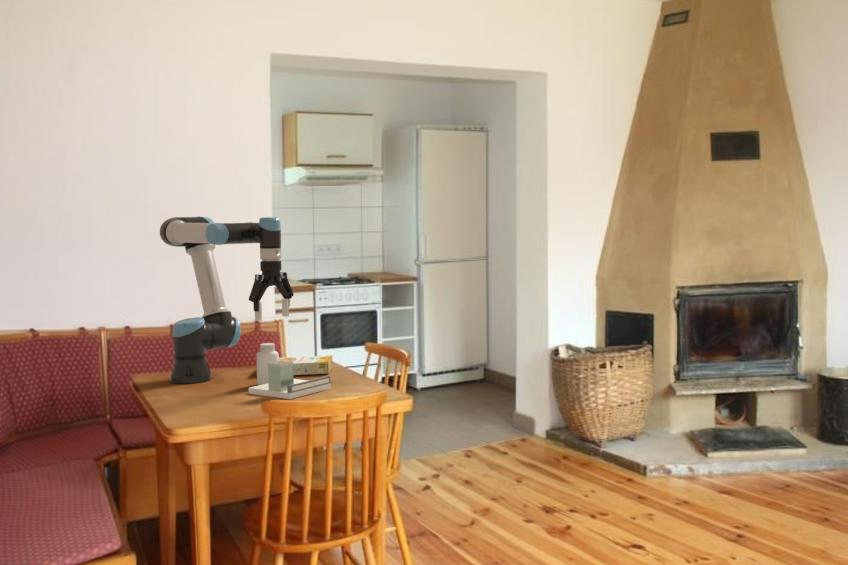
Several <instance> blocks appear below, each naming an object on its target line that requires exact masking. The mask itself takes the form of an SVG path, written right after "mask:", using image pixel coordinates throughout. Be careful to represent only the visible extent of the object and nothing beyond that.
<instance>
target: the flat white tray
mask: <svg viewBox="0 0 848 565" xmlns="http://www.w3.org/2000/svg"><path fill="white" fill-rule="evenodd" d="M331 388H332V386H331V376H330V375H327V376H323V377H318V378H315V379H310V380H308V379H298V378H294V384H293V385H289V386H287V390H285V391H275V390H269V383H267V384H263V385H254V386H251V387H248V394H249V395H250V394H251V395H255V396H256V395H257V396H263V397H264V396H265V397H272V398H279V399H285V400H292V399H296V398H300V397H303V396H308V395H312V394H316V393H318V392H324V391H327V390H331Z"/></svg>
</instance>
